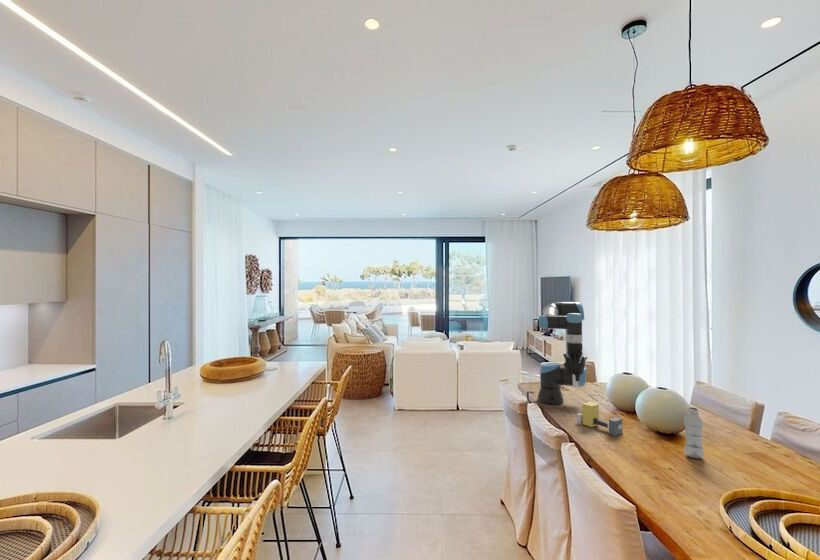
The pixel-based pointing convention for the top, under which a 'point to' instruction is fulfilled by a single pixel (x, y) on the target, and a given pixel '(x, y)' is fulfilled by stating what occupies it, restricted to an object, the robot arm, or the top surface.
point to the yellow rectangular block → (590, 413)
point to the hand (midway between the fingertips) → (575, 386)
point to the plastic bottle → (693, 434)
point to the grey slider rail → (606, 424)
